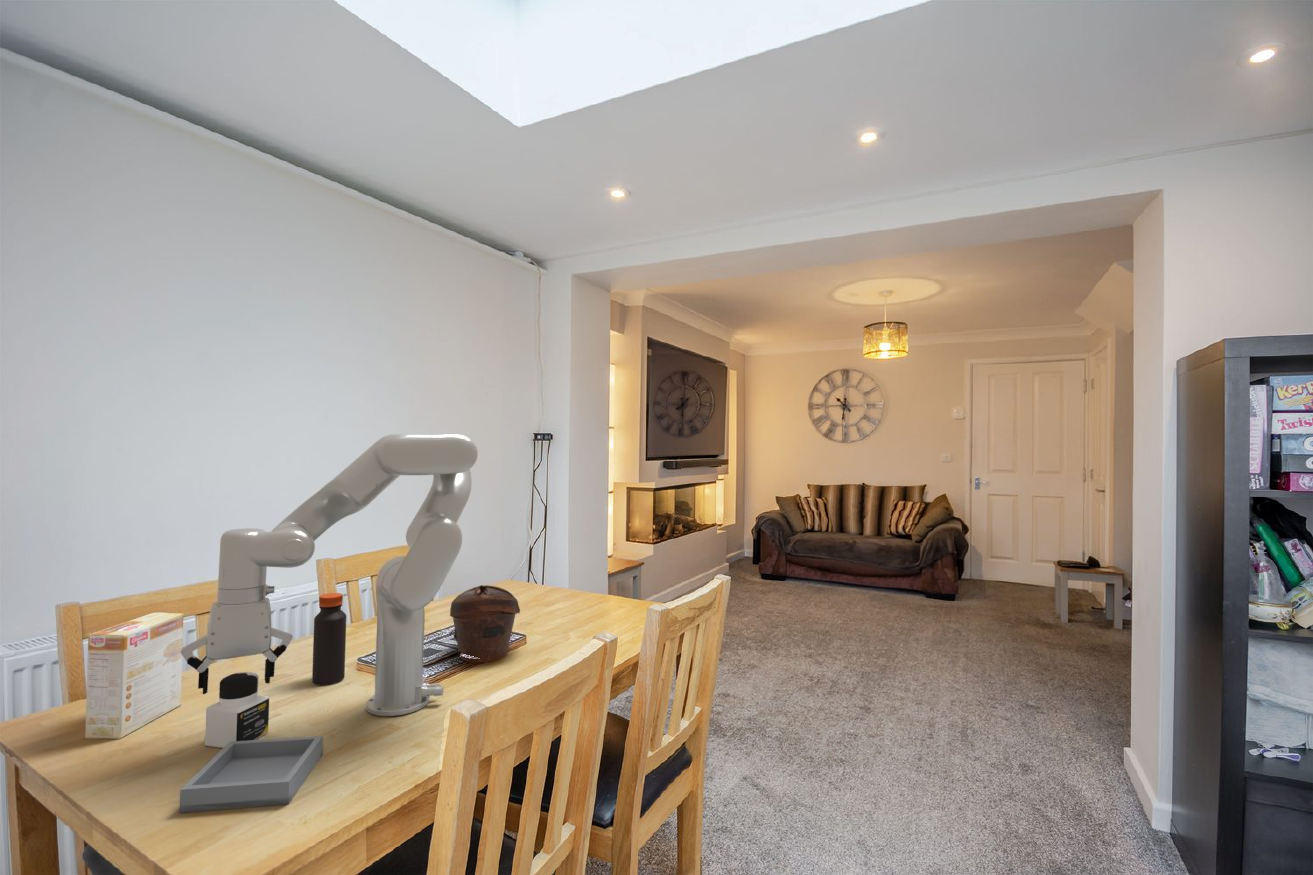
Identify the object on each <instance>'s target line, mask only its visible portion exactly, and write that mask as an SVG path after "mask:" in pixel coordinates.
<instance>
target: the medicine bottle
mask: <svg viewBox="0 0 1313 875" xmlns="http://www.w3.org/2000/svg"><path fill="white" fill-rule="evenodd" d="M218 689H219V690H218V691H219V692H218V699H219V700H218V702H215V703H213V704H211V705H209V706H207V707H206V710H205V737H204V745H205V746H206V747H212V748H218V749H219V748H220V749H223V748H224V747H225V746H226V745H227V744H228V743H229V742H231V741H247V740H259V739H260V738H261V737H263V736H265V735H267V734H268V733H269V720H270V718H269V716H270V712H269V711H270V697H269V696H267V695H262V694H261V695H259V675H258V674H257V673H255V672H252V671H241V672H235V673H233V674H232V673H231V674H229V675H227V676H225V677H223V678H222V679H221V680H220V681H219V688H218Z"/></svg>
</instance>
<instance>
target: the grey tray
mask: <svg viewBox="0 0 1313 875" xmlns="http://www.w3.org/2000/svg"><path fill="white" fill-rule="evenodd" d="M323 745H324V735H315V736H314V735H313V736H311V735H310V736H299V737H298V736H297V737H281V738H265V739H256V740H247V741H231V742H229V743H228V744H227V745H226V746H225V747H224V748H221V749H220V750H219V752H217V754H215V755H214V756H213V757H212V759H210V760H209V762H207V763H206V764H205V765H204V766H203V767H202V768H201V769H200V770H199V771H198V772H197V773H196V774H195V775H194V776H193V777H191V779H190V780H188V781H187V782H186V784H184V786H183V787H181V788H180V790H179V810H178V811H179V812H178V813H179V814H186V813H198V812H210V811H221V810H233V809H234V810H235V809H246V808H255V807H256V808H258V807H269V806H272V807H273V806H282V805H289V804H290V803H291V801H293V798H294V797H295V795H296V794H297V792H298V791H299V790H300V788H301V787H302V785H303V784H304V782H306V780H307V778H308V777H309V775H310V774H311V773H312V771H313V770H314V768H315V767H316V765H317V764H318V763H319V761H320V759H322V757H323V749H324V748H323Z"/></svg>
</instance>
